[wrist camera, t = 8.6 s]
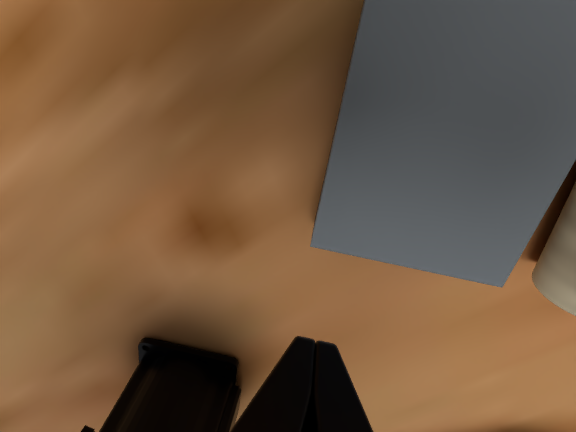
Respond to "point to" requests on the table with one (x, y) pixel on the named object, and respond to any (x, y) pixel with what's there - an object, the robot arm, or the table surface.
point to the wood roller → (560, 260)
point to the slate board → (451, 134)
